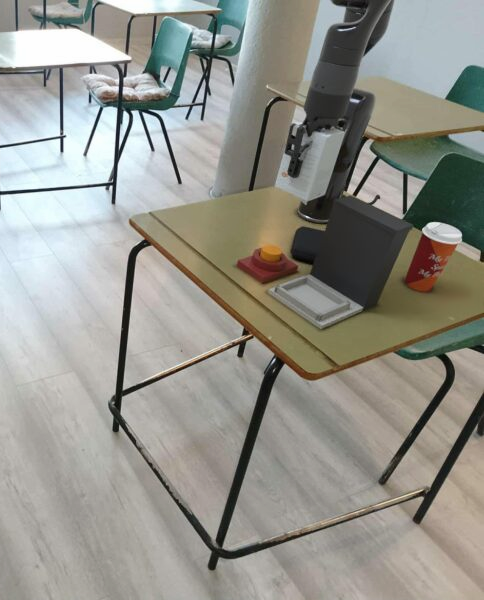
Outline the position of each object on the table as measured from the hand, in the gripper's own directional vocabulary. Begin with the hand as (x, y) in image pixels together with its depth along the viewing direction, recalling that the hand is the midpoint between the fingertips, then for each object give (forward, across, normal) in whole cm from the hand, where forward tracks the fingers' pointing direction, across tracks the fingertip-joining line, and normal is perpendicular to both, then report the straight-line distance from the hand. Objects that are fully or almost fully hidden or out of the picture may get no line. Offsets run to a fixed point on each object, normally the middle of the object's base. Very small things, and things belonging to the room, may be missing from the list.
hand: (304, 173), depth 113 cm
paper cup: (+24, +28, -17) cm, 41 cm away
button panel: (+24, 0, +3) cm, 24 cm away
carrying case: (+24, +18, +4) cm, 30 cm away
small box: (+4, 0, 0) cm, 4 cm away
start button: (+21, 0, +3) cm, 21 cm away
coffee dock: (+24, +3, -11) cm, 27 cm away
